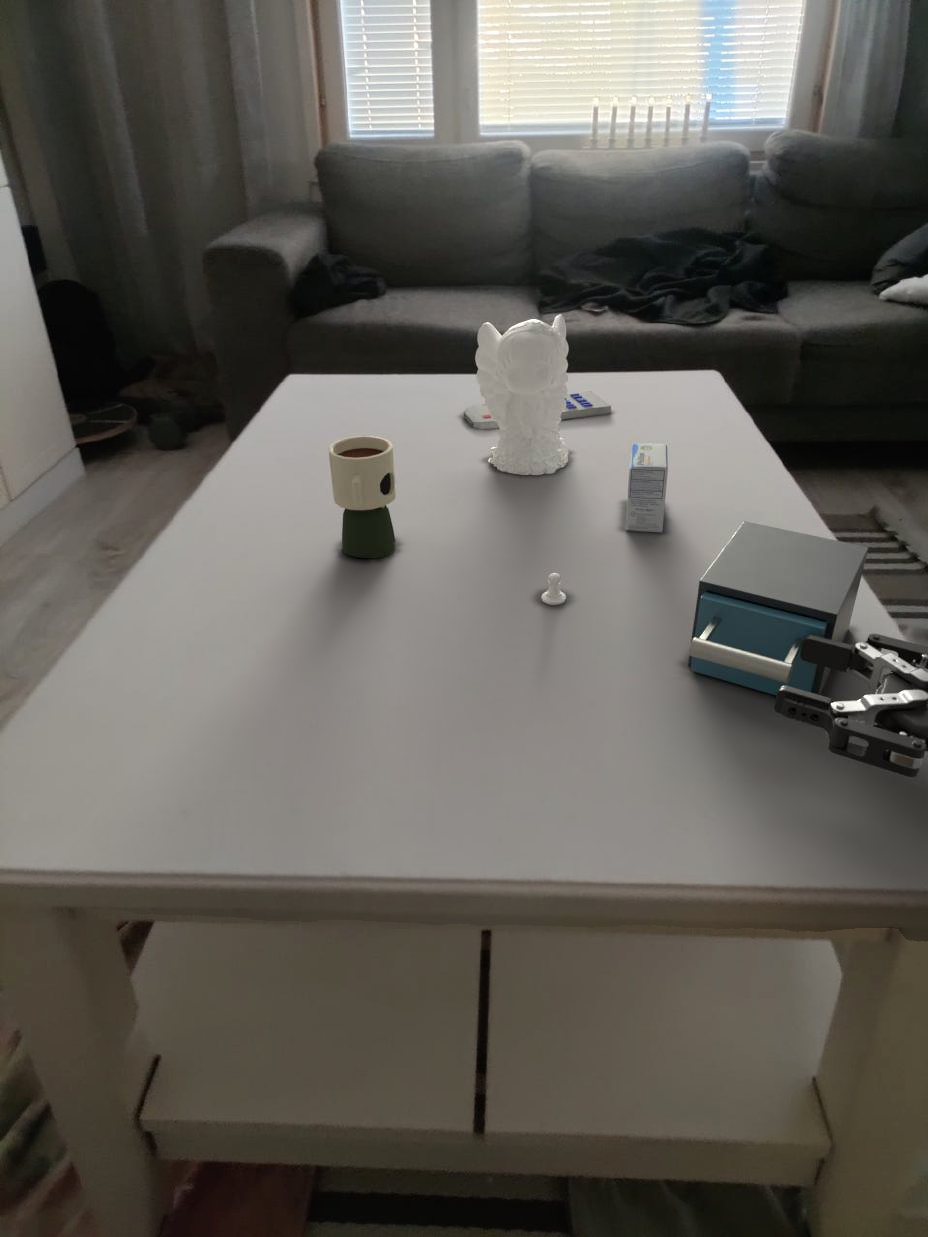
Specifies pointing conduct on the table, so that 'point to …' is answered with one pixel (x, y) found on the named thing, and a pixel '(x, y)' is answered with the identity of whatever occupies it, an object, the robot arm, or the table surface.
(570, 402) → the remote control
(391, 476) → the character mug
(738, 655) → the open teal drawer
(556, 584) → the chess pawn
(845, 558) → the small drawer unit
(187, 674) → the table surface
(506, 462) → the cherub figurine
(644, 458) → the medicine box
